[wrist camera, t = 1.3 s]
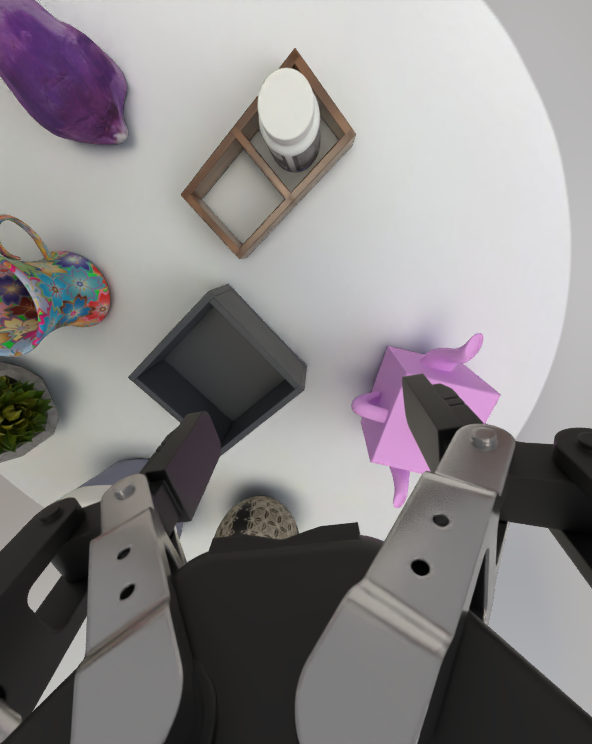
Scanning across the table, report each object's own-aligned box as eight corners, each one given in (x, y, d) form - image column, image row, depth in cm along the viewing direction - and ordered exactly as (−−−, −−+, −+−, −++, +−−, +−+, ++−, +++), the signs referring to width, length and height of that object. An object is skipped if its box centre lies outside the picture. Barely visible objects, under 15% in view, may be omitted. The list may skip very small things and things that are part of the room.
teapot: (329, 360, 36) (334, 403, 26) (438, 309, 33) (490, 336, 23) (378, 452, 41) (398, 519, 31) (478, 415, 38) (535, 476, 28)
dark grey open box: (158, 356, 38) (127, 377, 32) (228, 283, 34) (208, 291, 28) (234, 425, 41) (219, 456, 35) (307, 366, 37) (304, 389, 31)
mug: (118, 335, 37) (47, 367, 27) (45, 318, 37) (-54, 344, 27) (117, 232, 32) (30, 225, 23) (32, 211, 32) (-92, 196, 22)
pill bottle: (320, 111, 27) (320, 56, 19) (319, 172, 29) (320, 144, 21) (268, 114, 28) (249, 61, 20) (271, 174, 29) (254, 147, 22)
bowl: (93, 443, 44) (25, 502, 34) (195, 449, 43) (156, 512, 33) (116, 519, 50) (63, 589, 40) (205, 526, 49) (175, 599, 39)
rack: (192, 199, 31) (180, 194, 28) (297, 68, 26) (295, 47, 23) (246, 258, 33) (239, 259, 30) (352, 145, 28) (356, 134, 25)
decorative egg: (309, 529, 48) (305, 644, 34) (241, 537, 50) (210, 649, 36) (292, 472, 44) (279, 576, 30) (217, 483, 45) (173, 586, 32)
